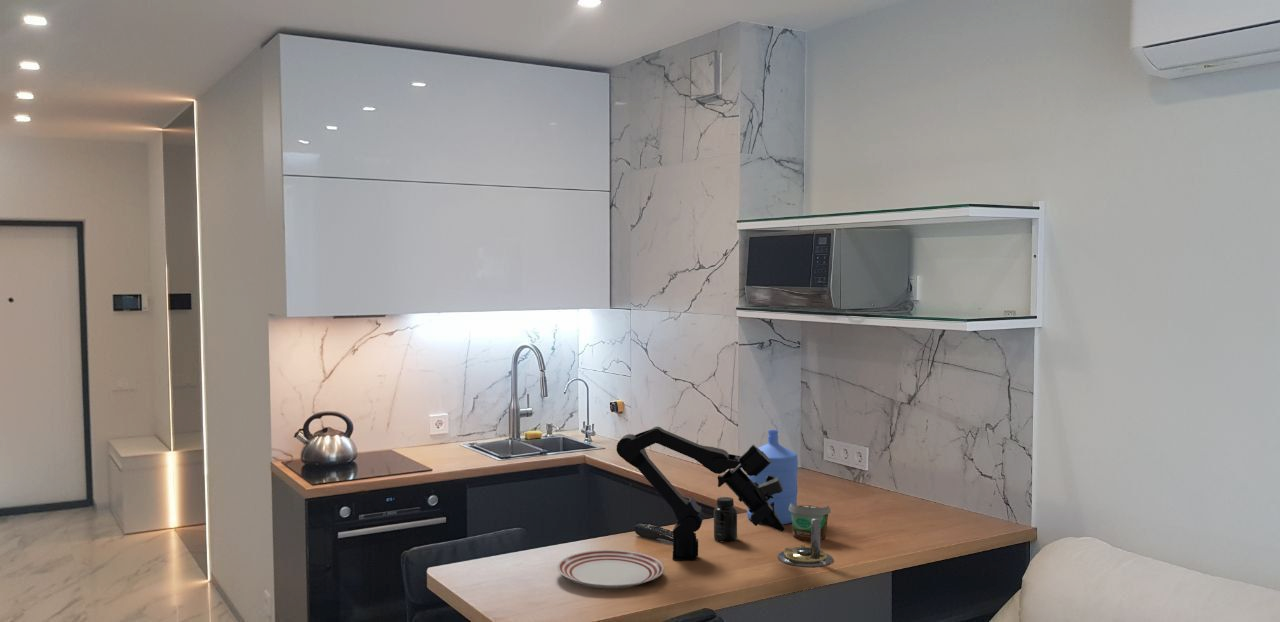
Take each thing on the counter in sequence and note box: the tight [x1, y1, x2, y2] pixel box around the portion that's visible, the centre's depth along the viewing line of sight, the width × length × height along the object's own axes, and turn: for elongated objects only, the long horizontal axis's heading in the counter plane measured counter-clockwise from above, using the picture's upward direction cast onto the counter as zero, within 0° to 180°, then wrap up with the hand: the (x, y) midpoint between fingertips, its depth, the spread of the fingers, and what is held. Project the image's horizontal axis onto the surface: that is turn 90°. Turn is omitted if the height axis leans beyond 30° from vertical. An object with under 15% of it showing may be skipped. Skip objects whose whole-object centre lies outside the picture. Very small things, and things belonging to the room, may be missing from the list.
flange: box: [777, 547, 834, 568], centre depth 268 cm, size 15×15×2 cm
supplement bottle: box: [713, 496, 738, 543], centre depth 286 cm, size 7×7×12 cm
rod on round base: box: [783, 518, 828, 563], centre depth 268 cm, size 12×12×12 cm
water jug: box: [746, 429, 799, 525], centre depth 309 cm, size 16×16×28 cm
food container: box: [789, 504, 832, 543], centre depth 286 cm, size 12×6×10 cm, turn 70°
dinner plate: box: [556, 549, 665, 590], centre depth 252 cm, size 27×27×3 cm
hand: (783, 530), depth 265 cm, fingers closed
